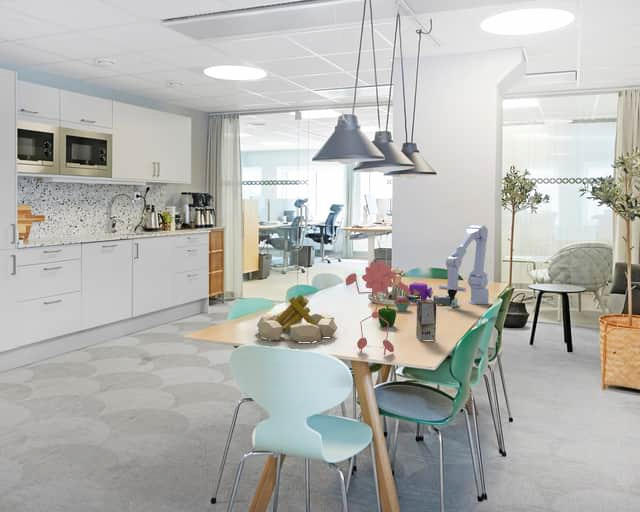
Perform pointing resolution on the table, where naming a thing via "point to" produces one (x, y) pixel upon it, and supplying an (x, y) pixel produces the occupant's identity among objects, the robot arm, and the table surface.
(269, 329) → the campfire
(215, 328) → the table surface
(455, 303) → the teal bar
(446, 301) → the camera case
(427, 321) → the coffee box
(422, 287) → the toy camera
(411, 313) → the table surface
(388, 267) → the figurine
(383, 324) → the bell pepper
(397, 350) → the table surface
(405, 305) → the cupcake
